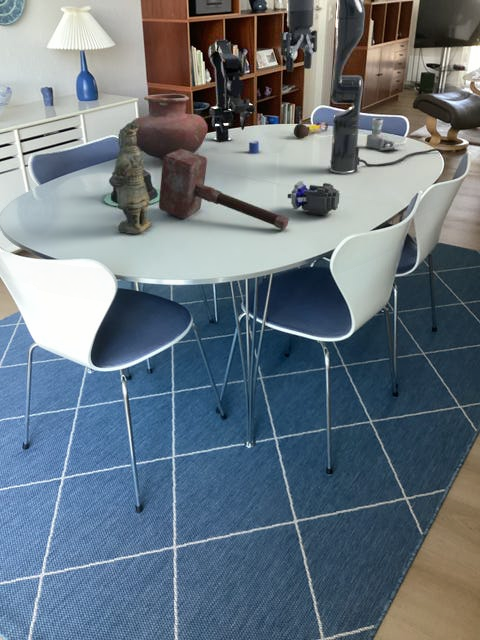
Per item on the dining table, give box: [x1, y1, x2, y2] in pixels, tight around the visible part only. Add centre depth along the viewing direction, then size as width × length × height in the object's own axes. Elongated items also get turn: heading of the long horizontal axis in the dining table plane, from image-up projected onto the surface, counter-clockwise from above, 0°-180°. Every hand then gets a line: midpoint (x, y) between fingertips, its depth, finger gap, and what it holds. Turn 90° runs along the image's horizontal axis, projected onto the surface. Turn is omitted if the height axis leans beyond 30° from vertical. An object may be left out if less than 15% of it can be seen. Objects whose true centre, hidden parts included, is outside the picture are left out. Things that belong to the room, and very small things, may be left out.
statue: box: [108, 120, 153, 235], centre depth 154 cm, size 11×9×30 cm
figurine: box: [293, 119, 329, 139], centre depth 263 cm, size 13×8×25 cm
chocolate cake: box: [103, 168, 160, 207], centre depth 186 cm, size 15×19×20 cm
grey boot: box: [365, 117, 406, 152], centre depth 234 cm, size 9×12×15 cm
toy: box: [287, 180, 341, 216], centre depth 168 cm, size 9×9×15 cm
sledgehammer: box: [158, 149, 290, 231], centre depth 163 cm, size 17×10×40 cm
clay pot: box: [131, 93, 209, 161], centre depth 222 cm, size 30×30×25 cm
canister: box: [248, 140, 260, 154], centre depth 236 cm, size 4×4×4 cm
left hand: (232, 131), depth 235 cm, fingers open, 9 cm apart
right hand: (298, 70), depth 168 cm, fingers open, 8 cm apart
